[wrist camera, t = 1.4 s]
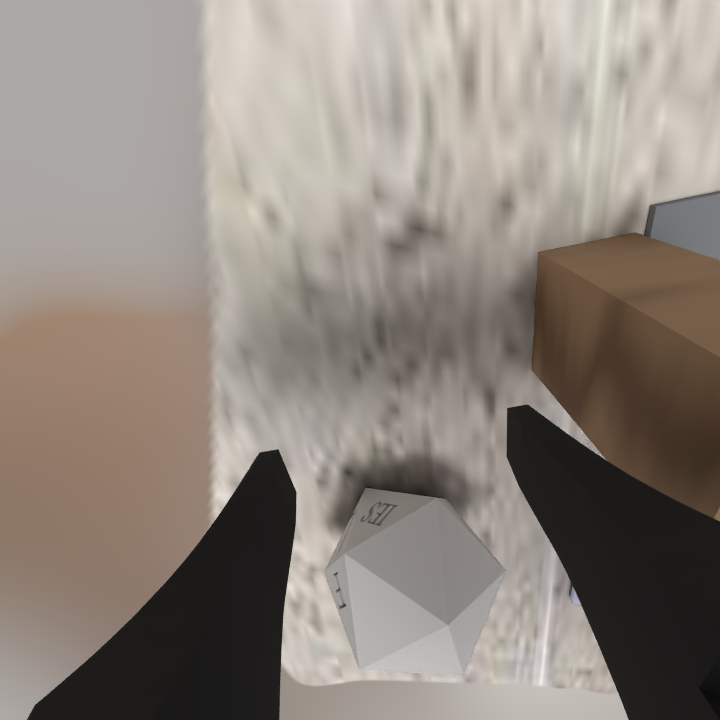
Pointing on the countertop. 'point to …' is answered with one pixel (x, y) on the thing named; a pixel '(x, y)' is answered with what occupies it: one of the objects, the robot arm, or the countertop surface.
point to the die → (411, 584)
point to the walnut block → (637, 358)
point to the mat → (688, 224)
